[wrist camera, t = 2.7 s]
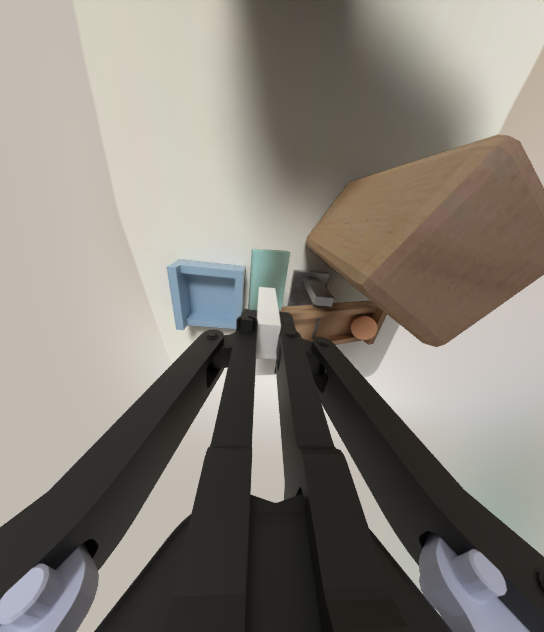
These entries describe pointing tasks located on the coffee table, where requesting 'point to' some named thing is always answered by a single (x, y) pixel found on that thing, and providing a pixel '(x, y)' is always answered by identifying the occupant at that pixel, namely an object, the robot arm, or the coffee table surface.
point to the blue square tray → (206, 293)
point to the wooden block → (440, 236)
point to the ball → (363, 327)
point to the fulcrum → (309, 289)
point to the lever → (308, 318)
